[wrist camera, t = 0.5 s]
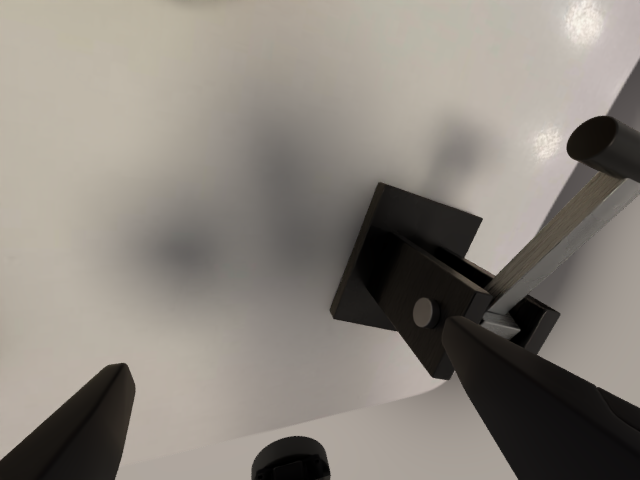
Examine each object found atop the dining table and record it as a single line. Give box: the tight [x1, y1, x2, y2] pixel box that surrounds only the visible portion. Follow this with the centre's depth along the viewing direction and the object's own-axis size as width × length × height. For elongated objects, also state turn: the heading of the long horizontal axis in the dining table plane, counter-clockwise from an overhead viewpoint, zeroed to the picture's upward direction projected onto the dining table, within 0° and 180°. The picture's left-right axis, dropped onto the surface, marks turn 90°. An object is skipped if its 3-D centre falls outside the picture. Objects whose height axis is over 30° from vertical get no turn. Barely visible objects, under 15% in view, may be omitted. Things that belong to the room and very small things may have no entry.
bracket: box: [330, 182, 560, 380], centre depth 18 cm, size 10×8×10 cm
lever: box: [479, 116, 640, 340], centre depth 13 cm, size 11×5×2 cm, turn 161°
